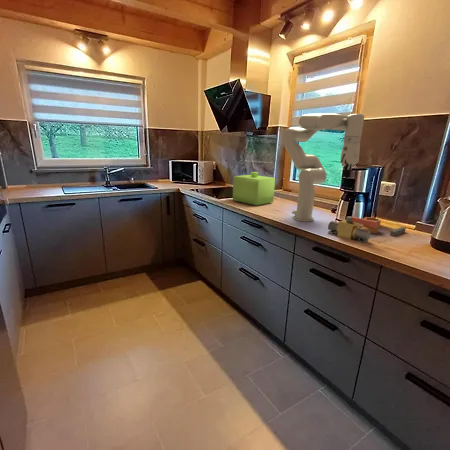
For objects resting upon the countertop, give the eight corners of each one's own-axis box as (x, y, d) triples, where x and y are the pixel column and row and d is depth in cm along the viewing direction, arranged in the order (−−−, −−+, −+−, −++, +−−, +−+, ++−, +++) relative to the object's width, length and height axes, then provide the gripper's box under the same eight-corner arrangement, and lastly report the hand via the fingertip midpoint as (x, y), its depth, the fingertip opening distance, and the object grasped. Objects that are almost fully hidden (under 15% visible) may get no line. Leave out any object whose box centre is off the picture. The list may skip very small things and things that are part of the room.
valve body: (326, 232, 146) (328, 218, 143) (333, 230, 150) (335, 216, 148) (363, 244, 131) (366, 228, 128) (370, 241, 135) (373, 225, 132)
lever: (344, 221, 138) (345, 215, 137) (348, 220, 140) (349, 214, 139) (374, 228, 128) (375, 222, 127) (377, 227, 130) (378, 221, 129)
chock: (389, 235, 145) (390, 231, 145) (400, 231, 154) (401, 226, 153) (393, 236, 144) (394, 231, 143) (404, 231, 152) (405, 227, 151)
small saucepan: (371, 228, 157) (373, 217, 155) (381, 233, 149) (384, 221, 147) (343, 229, 153) (345, 217, 151) (352, 234, 146) (354, 221, 144)
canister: (232, 200, 222) (233, 171, 216) (249, 197, 237) (250, 170, 230) (257, 205, 206) (259, 174, 199) (273, 201, 221) (275, 172, 214)
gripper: (351, 140, 130) (345, 179, 135) (366, 141, 138) (360, 177, 144) (336, 140, 135) (331, 177, 141) (352, 140, 144) (347, 176, 149)
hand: (346, 177), depth 142 cm, fingers closed
